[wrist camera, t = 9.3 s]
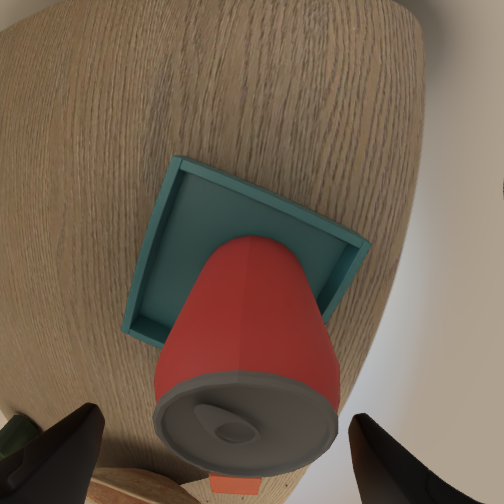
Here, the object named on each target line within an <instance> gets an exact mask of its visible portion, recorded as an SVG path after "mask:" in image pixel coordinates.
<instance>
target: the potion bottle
mask: <svg viewBox="0 0 504 504" xmlns="http://www.w3.org/2000/svg"><path fill="white" fill-rule="evenodd" d="M39 435H41V434H40V433H39V431H38V430H37V429H36V428H35V427H34V426H33V425H32V424H31V423H30V422H28V421H27V420H26V419H24V418H23V417H21V416H19V415H14V416H13V417H12V418H11V419H10V420H9V421H8V423H7V424H6V425H5V426H4V427H3V428H2V429H1V430H0V460H1V459H3V458H5V457H6V456H8V455H10V454H12V453H13V452H15V451H17V450H18V449H20V448H21V447H23V446H24V445H26V444H27V443H29V442H30V441H32V440H33V439H35V438H36V437H38V436H39Z"/></svg>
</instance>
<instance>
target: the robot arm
mask: <svg viewBox="0 0 504 504" xmlns="http://www.w3.org/2000/svg"><path fill="white" fill-rule="evenodd" d="M104 425H105V419H104V416H103V414H102V412H101V410H100V409H99V407H98V405H96V404H93V403H89V402H88V403H85V404H84V405H82V406H81V407H79V408H78V409H77V410H75V411H74V412H72V413H71V414H70V415H68V416H67V417H65V418H64V419H62V420H61V421H59V422H58V423H57V424H55V425H54V426H52V427H51V428H49V429H48V430H46V431H45V432H43V433H42V434H41V435H39V436H38V437H36V438H35V439H33V440H32V441H30V442H29V443H27V444H26V445H24V446H23V447H21V448H20V449H18V450H17V451H15V452H13V453H12V454H10V455H8V456H6V457H5V458H3V459H1V460H0V504H84V502H85V498H86V495H87V491H88V488H89V484H90V481H91V477H92V474H93V471H94V467H95V464H96V461H97V458H98V454H99V449H100V444H101V439H102V434H103V429H104ZM348 434H349V442H350V449H351V456H352V463H353V469H354V474H355V477H356V481H357V485H358V489H359V493H360V497H361V501H362V504H484V503H480V502H478V501H475V500H474V499H472V498H470V497H469V496H467V495H465V494H464V493H462V492H460V491H458V490H456V489H455V488H454V487H452V486H451V485H449V484H447V483H446V482H444V481H443V480H442V479H441V478H439V477H438V476H437V475H436V474H434V473H433V472H432V471H431V470H429V469H428V468H427V467H426V466H424V464H422V463H421V462H420V461H419V460H418V459H417V458H416V457H414V456H413V455H412V454H411V453H410V452H409V451H408V450H406V449H405V448H404V447H403V446H402V445H401V444H400V443H398V442H397V441H396V440H395V439H394V438H393V437H392V436H390V435H389V434H388V433H387V432H386V431H385V430H384V429H383V428H382V427H380V426H379V425H378V424H377V423H376V422H375V421H374V420H373V419H372V418H371V417H369V415H367V414H366V413H360V414H356V415H354V416H353V418H352V421H351V423H350V426H349V430H348Z"/></svg>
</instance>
